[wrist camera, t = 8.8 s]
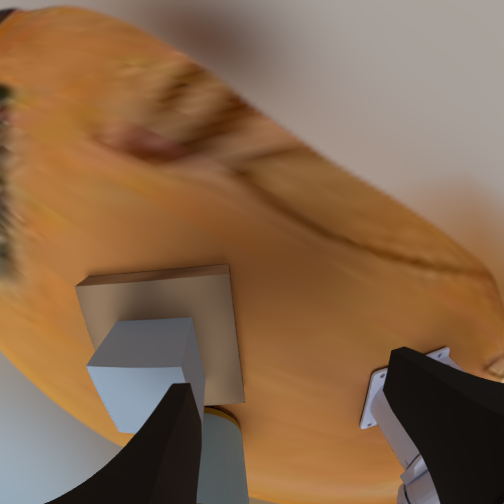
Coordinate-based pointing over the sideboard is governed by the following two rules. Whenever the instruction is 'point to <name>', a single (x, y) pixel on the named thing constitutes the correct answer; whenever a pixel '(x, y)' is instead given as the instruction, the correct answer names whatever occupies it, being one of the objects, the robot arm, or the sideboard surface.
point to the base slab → (174, 316)
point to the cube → (145, 368)
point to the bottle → (221, 461)
